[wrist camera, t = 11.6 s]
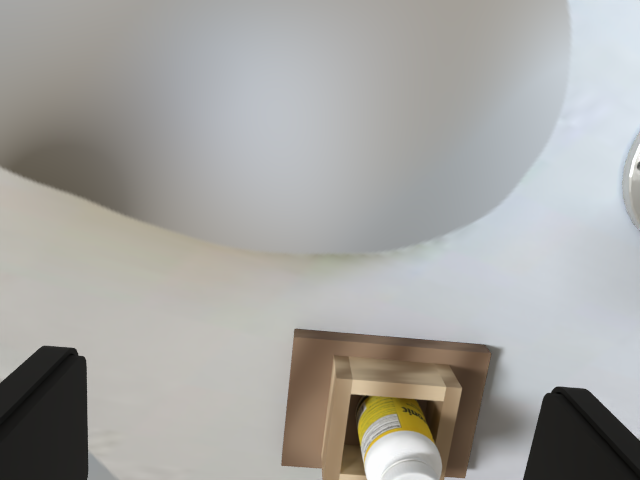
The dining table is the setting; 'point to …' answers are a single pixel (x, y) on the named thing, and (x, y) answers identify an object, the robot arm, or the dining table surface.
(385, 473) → the supplement bottle
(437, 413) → the socket board
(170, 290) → the dining table surface
